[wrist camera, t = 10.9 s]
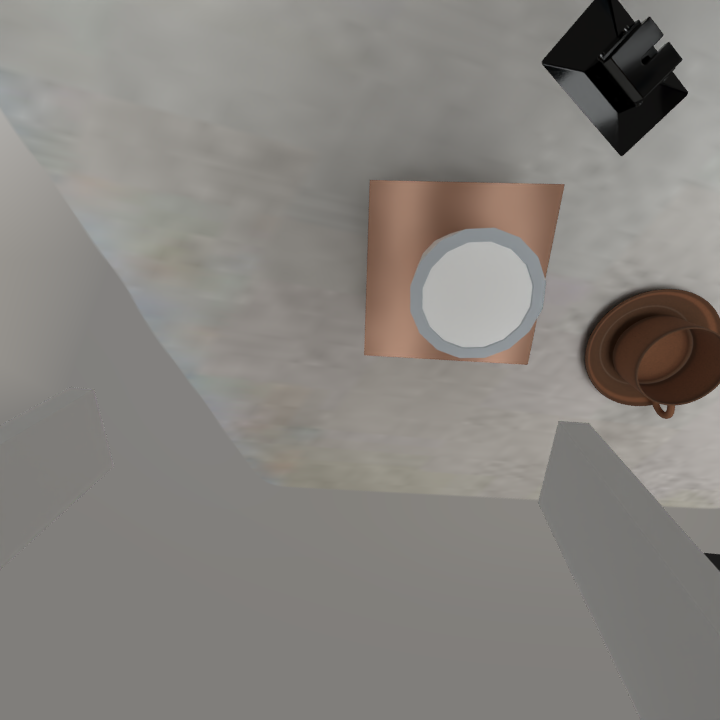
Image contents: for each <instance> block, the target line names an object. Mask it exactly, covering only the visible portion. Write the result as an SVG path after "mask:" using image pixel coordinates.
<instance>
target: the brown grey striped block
mask: <svg viewBox="0 0 720 720" xmlns="http://www.w3.org/2000/svg"><path fill="white" fill-rule="evenodd" d="M564 185H565V184H523V183H477V182H432V181H386V180H370V191H369V223H368V254H367V285H366V317H365V348H364V355H370V356H387V357H405V358H422V359H439V360H456V361H473V362H490V363H508V364H525V365H528V360H529V355H530V350H531V346H532V341H533V336H534V331H535V326H536V321H537V319H536V321H535V323H534V324H533V326H532V328H531V330H530V332H528V333H527V334H526V335H525V336H524V337H522V338H521V339H520V340H519V341H518V342H517V343H515V344H514V345H513V346H512V347H511V348H509V349H507V350H504V351H502V352H499V353H496V354H494V355H491V356H488V357H486V358H458V357H455V356H453V355H450V354H447V353H445V352H442V351H439V350H437V349H436V348H435V347H434V346H433V345H432V344H431V343H429V342H428V341H427V340H426V339H425V338H424V337H423V336H422V335H421V334H420V333H419V330H418V328H417V326H416V324H415V321H414V319H413V317H412V314H411V312H410V286H411V283H412V280H413V277H414V274H415V272H416V269H417V266H418V264H419V261H420V259H421V257H422V254H423V253H424V252H425V250H426V249H427V248H428V247H429V246H430V245H431V244H432V243H433V242H434V241H435V240H437V239H440V238H442V237H444V236H446V235H448V234H450V233H454V232H457V231H461V230H464V229H477V228H497V229H499V230H502V231H504V232H507V233H510V234H512V235H515V236H517V237H520V238H521V239H522V240H523V241H524V242H525V243H526V244H527V245H528V247H529V248H530V249H531V250H532V251H533V252H534V253H535V254H536V255H537V256H538V258H539V261H540V264H541V267H542V271H543V274H544V277H546V272H547V268H548V263H549V258H550V253H551V248H552V243H553V238H554V233H555V229H556V224H557V219H558V214H559V209H560V204H561V199H562V194H563V190H564Z"/></svg>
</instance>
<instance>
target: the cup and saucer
mask: <svg viewBox="0 0 720 720" xmlns="http://www.w3.org/2000/svg"><path fill="white" fill-rule="evenodd" d="M585 364H586V369H587V373H588V375H589V378H590V380H591V382H592V383H593V385H594V386H595V388H596V389H597V390H598V391H599V392H600V393H601V394H603V395H604V396H605V397H607V398H609V399H611V400H613V401H615V402H618V403H621V404H625V405H631V406H648V405H653V407H654V409H655V411H656V412H657V414H658V415H659V416H660V417H662V418H665V419H668V418H671V417H672V416H673V414H674V410H675V405H682V404H687V403H690V402H693V401H696V400H698V399H700V398H702V397H704V396H706V395H707V394H709V393H710V392H711V391H713V390H714V389H715V388H716V387H717V386H718V385H719V384H720V318H719V315H718V314H717V312H716V310H715V309H714V308H713V306H712V305H711V304H710V303H709V302H707V301H706V300H705V299H703V298H702V297H700V296H698V295H696V294H694V293H691V292H687V291H683V290H676V289H661V290H653V291H648V292H644V293H641V294H638V295H635V296H633V297H631V298H629V299H627V300H625V301H623V302H622V303H620V304H618V305H617V306H616V307H614V308H613V309H612V310H610V311H609V312H608V313H607V314H606V315H605V316H604V317H603V318H602V319H601V321H600V322H599V323H598V324H597V326H596V327H595V329H594V330H593V332H592V334H591V336H590V338H589V341H588V344H587V348H586V354H585ZM659 404H663V405H667V411H666V412H664V411H663V410H662V409H661V407H660V405H659Z"/></svg>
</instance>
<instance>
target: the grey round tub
mask: <svg viewBox="0 0 720 720" xmlns="http://www.w3.org/2000/svg"><path fill="white" fill-rule="evenodd" d="M545 286H546V280H545V277H544V274H543V271H542V267H541V264H540V261H539V258H538V256H537V255H536V254H535V253H534V252H533V251H532V250H531V249H530V248H529V247H528V245H527V244H526V243H525V242H524V241H523V240H522V239H521V238H520V237H517V236H515V235H512V234H510V233H507V232H504V231H502V230H499V229H497V228H477V229H464V230H461V231H457V232H454V233H450V234H448V235H446V236H444V237H442V238H440V239H437V240H435V241H434V242H433V243H432V244H431V245H430V246H429V247H428V248H427V249H426V250H425V252H424V253H423V254H422V257H421V259H420V261H419V264H418V266H417V269H416V272H415V274H414V277H413V280H412V283H411V286H410V312H411V314H412V317H413V319H414V321H415V324H416V326H417V328H418V330H419V333H420V334H421V335H422V336H423V337H424V338H425V339H426V340H427V341H428V342H429V343H431V344H432V345H433V346H434V347H435V348H436V349H437V350H439V351H442V352H445V353H447V354H450V355H453V356H455V357H458V358H486V357H488V356H491V355H494V354H496V353H499V352H502V351H504V350H507V349H509V348H511V347H512V346H513V345H514V344H515V343H517V342H518V341H519V340H520V339H521V338H522V337H524V336H525V335H526V334H527V333H528V332H530V330H531V328H532V326H533V324H534V323H535V321H536V319H537V317H538V316H539V314H540V312H541V310H542V309H543V302H544V294H545Z"/></svg>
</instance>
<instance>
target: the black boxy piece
mask: <svg viewBox="0 0 720 720" xmlns="http://www.w3.org/2000/svg"><path fill="white" fill-rule="evenodd" d="M663 35H664V34H663V33H662V32H661V30H660V29H659V28H658V26H657V25H656V24H655V23H654V21H653V20H652V19H651V17H648V18H647V19H645V20H644V21H643V22H642V23H641V22H640V21H639V20H637V21H636V22H634V21H633V19H632V18H631V17H630V15H629V14H628V13H627V12H626V10H625V9H624V8H623V6H622V5H621V4H620V2H619V1H618V0H594V1H593V2H592V3H591V5H590V6H589V7H588V8H587V9H586V10H585V12H584V13H583V14H582V15H581V16H580V17H579V19H578V20H577V21H576V22H575V23H574V24H573V25H572V27H571V28H570V29H569V30H568V31H567V32H566V34H565V35H564V36H563V37H562V38H561V39H560V41H559V42H558V43H557V44H556V45H555V46H554V48H553V49H552V50H551V51H550V52H549V53H548V55H547V56H546V57H545V58H544V59H543V61H542V64H543V66H544V67H545V68H546V69H547V70H548V72H549V73H550V74H551V75H552V76H553V77H554V79H555V80H556V81H557V82H558V83H559V84H560V86H561V87H562V88H563V89H564V90H565V91H566V93H567V94H568V95H569V96H570V97H571V98H572V100H573V101H574V102H575V103H576V104H577V105H578V107H579V108H580V109H581V110H582V111H583V113H584V114H585V115H586V116H587V117H588V118H589V120H590V121H591V122H592V123H593V124H594V125H595V127H596V128H597V129H598V130H599V131H600V132H601V134H602V135H603V136H604V137H605V138H606V139H607V141H608V142H609V143H610V144H611V145H612V146H613V148H614V149H615V150H616V151H617V152H618V153H619V155H620V156H623V155H624V154H625V153H626V152H627V151H628V150H629V149H631V148H632V147H633V146H634V145H635V144H636V143H637V142H638V141H639V140H640V139H641V138H642V137H643V136H644V135H645V134H646V133H648V132H649V131H650V130H651V129H652V128H653V127H654V126H655V125H656V124H657V123H658V122H659V121H660V120H661V119H662V118H663V117H664V116H666V115H667V114H668V113H669V112H670V111H671V110H672V109H673V108H674V107H675V106H676V105H677V104H678V103H679V102H680V101H681V100H683V99H684V98H685V97H686V96H687V94H688V91H687V90H686V89H685V87H684V86H683V85H682V84H681V82H680V81H679V80H678V78H677V77H676V76H675V74H674V73H673V72H672V71H673V70H674V69H675V67H676V66H677V65H678V64H679V63H680V62H681V61H682V58H681V57H680V55H679V54H678V53H677V52H676V50H675V49H674V48H673V46H672V45H671V44H670V42H668V43H666V44H664V45H663V46H662V48H661V49H660V50H659V51H657V50H656V49H655V48H654V45H655V44H656V43H657V42H658V41H659V40H660V38H661V37H662V36H663Z"/></svg>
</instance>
